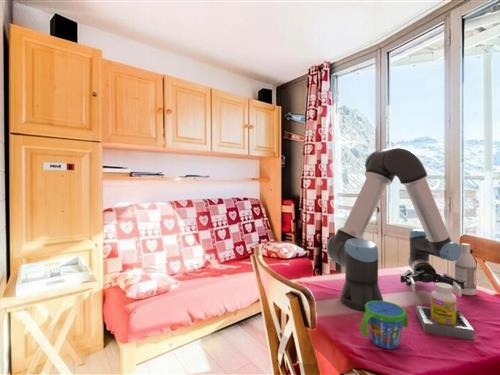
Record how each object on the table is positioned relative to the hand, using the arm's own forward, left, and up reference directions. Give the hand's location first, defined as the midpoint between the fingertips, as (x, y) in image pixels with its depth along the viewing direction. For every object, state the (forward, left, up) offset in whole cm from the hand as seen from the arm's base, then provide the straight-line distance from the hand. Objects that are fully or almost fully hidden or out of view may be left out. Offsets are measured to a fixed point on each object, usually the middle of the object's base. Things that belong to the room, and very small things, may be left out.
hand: (436, 289), depth 97 cm
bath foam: (+16, +26, -9) cm, 31 cm away
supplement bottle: (0, -8, -8) cm, 12 cm away
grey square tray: (0, -8, -9) cm, 12 cm away
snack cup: (-18, -24, -9) cm, 32 cm away
